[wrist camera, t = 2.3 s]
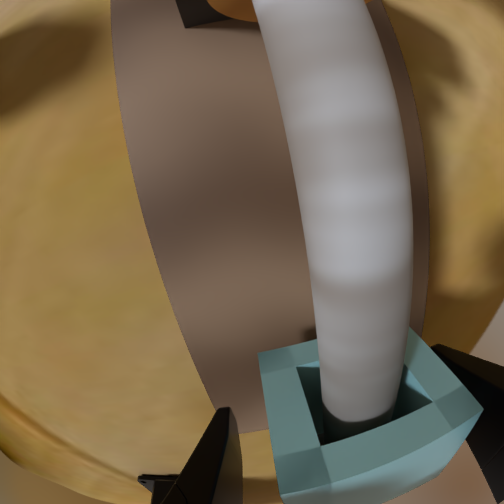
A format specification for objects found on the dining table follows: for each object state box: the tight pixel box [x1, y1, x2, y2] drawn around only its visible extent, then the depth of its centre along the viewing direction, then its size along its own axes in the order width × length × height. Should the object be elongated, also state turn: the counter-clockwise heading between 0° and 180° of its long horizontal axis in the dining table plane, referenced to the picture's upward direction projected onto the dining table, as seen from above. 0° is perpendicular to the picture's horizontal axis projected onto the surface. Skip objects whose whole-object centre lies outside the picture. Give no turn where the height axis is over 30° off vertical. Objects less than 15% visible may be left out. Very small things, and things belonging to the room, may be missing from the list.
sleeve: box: [257, 327, 483, 504], centre depth 7 cm, size 4×5×5 cm
